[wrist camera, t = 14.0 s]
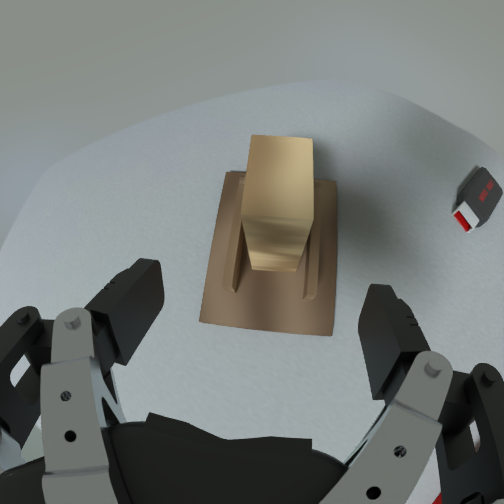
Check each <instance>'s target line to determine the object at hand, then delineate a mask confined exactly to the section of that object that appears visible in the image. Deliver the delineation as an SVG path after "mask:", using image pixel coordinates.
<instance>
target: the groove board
mask: <svg viewBox="0 0 504 504" xmlns="http://www.w3.org/2000/svg"><path fill="white" fill-rule="evenodd" d="M245 178H246V173H240V172H226V175H225V180H224V185H223V189H222V194H221V199H220V204H219V209H218V214H217V219H216V225H215V230H214V235H213V241H212V246H211V252H210V257H209V263H208V269H207V275H206V280H205V286H204V293H203V299H202V305H201V311H200V318H199V322H202V323H209V324H215V325H222V326H230V327H237V328H245V329H253V330H262V331H272V332H282V333H293V334H305V335H318V336H332V334H333V322H334V308H335V291H336V267H337V188H336V181H329V180H321V179H313V183H314V220H313V223H312V226H311V229H310V232H309V235H308V238H307V241H306V244H305V247H304V250H303V253H302V256H301V259H300V262H299V265H298V268H297V270H296V273H293V272H279V271H267V270H254V269H252V266H251V261H250V257H249V252H248V247H247V243H246V238H245V233H244V228H243V224H242V219H241V207H242V200H243V192H244V185H245Z"/></svg>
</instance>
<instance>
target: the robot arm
mask: <svg viewBox="0 0 504 504" xmlns="http://www.w3.org/2000/svg"><path fill="white" fill-rule="evenodd" d="M163 304H164V287H163V280H162V272H161V265H160V262H159V261H158V260H152V259H144V258H140V259H138V260H137V261H136V262H135V263H134V264H133V265H132V266H131V267H130V268H129V269H126V270H124V271H122V272H120V273H118V274H117V275H116V276H115V277H114V278H113V279H112V280H111V281H110V283H108V284H107V285H106V286H105V287H104V289H102V290H101V291H100V292H99V293H98V294H97V295H96V296H95V297H94V298H93V299H92V300H91V301H90V302H89V303H88V304H87V305H86V306H85V307H84V308H71V309H68V310H65V311H63V312H62V313H60V314H59V315H58V316H57V317H56V319H55V320H45V319H41V316H40V314H39V311H38V309H37V308H35V307H32V306H26V307H23V308H20V309H18V310H17V311H15V312H14V313H13V314H12V315H11V316H10V317H9V318H8V319H7V320H6V321H5V322H4V323H3V325H2V326H1V327H0V504H405V503H406V501H407V500H408V498H409V496H410V495H411V493H412V491H413V489H414V488H415V486H416V484H417V482H418V480H419V478H420V476H421V475H422V473H423V471H424V469H425V467H426V464H427V462H428V460H429V458H430V456H431V454H432V452H433V449H434V447H435V448H436V455H437V461H438V469H439V477H440V486H441V498H442V504H504V381H503V379H502V377H501V375H500V373H499V372H498V371H497V369H495V368H494V367H493V366H491V365H489V364H487V363H479V364H477V365H476V366H475V367H474V368H473V370H472V371H471V373H470V374H468V373H463V372H458V371H453V369H452V366H451V364H450V362H449V361H448V360H447V359H446V358H445V357H444V356H442V355H441V354H439V353H437V352H433V351H431V350H430V347H429V345H428V343H427V341H426V339H425V337H424V335H423V332H422V330H421V328H420V326H418V322H417V320H416V318H414V317H415V316H414V314H413V312H412V310H411V308H410V307H409V306H408V305H407V304H406V303H405V302H404V301H403V300H402V299H397V297H396V295H395V293H394V291H393V289H392V287H391V286H390V285H382V284H371V285H370V286H369V289H368V292H367V295H366V298H365V302H364V305H363V308H362V311H361V314H360V317H359V322H358V333H359V337H360V341H361V345H362V350H363V354H364V359H365V363H366V368H367V372H368V377H369V382H370V387H371V393H372V398H373V400H384V401H385V406H384V408H383V409H382V411H381V412H380V414H379V415H378V417H377V418H376V420H375V421H374V423H373V424H372V426H371V427H370V429H369V430H368V432H367V433H366V434H365V436H364V437H363V439H362V440H361V441H360V443H359V444H358V445H357V447H356V448H355V449H354V451H353V452H352V453H351V454H350V455H349V457H348V458H347V459H346V460H345V461H344V462H343V463H342V462H341V461H339V460H337V459H336V458H334V457H332V456H330V455H328V454H326V453H323V452H320V451H318V450H314V449H312V439H302V438H285V437H273V436H269V437H260V438H249V439H234V440H227V439H222V438H220V437H217V436H215V435H213V434H210V433H208V432H206V431H204V430H202V429H199V428H197V427H195V426H193V425H191V424H189V423H187V422H183V421H179V420H175V419H172V418H168V417H164V416H161V415H157V414H154V413H151V412H149V414H148V417H147V419H146V421H145V422H144V421H140V422H127V421H126V419H125V417H124V414H123V411H122V408H121V404H120V400H119V396H118V392H117V388H116V383H115V379H114V374H113V371H112V368H111V367H112V366H113V364H114V362H115V363H118V364H121V365H124V366H126V365H127V364H128V362H129V360H130V359H131V357H132V355H133V354H134V352H135V350H136V349H137V347H138V346H139V344H140V342H141V341H142V339H143V337H144V336H145V334H146V333H147V331H148V330H149V328H150V326H151V325H152V323H153V322H154V320H155V319H156V317H157V315H158V314H159V312H160V311H161V309H162V307H163ZM23 355H25V356H26V358H27V360H28V361H29V363H30V366H29V368H28V369H27V370H26V372H25V373H24V375H23V376H22V377H21V379H20V380H19V382H18V383H17V385H16V386H15V388H14V386H13V385H12V383H11V381H10V374H11V371H12V369H13V368H14V367H15V365H16V364H17V363H18V361H19V360H20V359H21V357H22V356H23ZM40 414H41V428H42V440H43V449H44V456H43V457H41V458H38V459H35V460H33V461H30V462H27V463H26V462H25V460H24V458H23V457H22V456H21V450H22V448H23V446H24V444H25V442H26V440H27V438H28V436H29V434H30V432H31V430H32V429H33V427H34V425H35V423H36V421H37V420H38V418H39V416H40ZM474 420H475V421H476V425H477V428H478V432H479V436H480V440H481V443H480V448H479V450H478V452H477V453H476V451H475V447H474V443H473V439H472V435H471V431H470V427H469V425H470V424H471V423H472V422H473V421H474Z"/></svg>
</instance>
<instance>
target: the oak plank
mask: <svg viewBox="0 0 504 504" xmlns="http://www.w3.org/2000/svg"><path fill="white" fill-rule="evenodd" d="M241 219H242V224H243V228H244V233H245V238H246V243H247V247H248V252H249V257H250V261H251V266H252V269H254V270H267V271H279V272H293V273H296V270H297V268H298V265H299V262H300V259H301V256H302V253H303V250H304V247H305V244H306V241H307V238H308V235H309V232H310V229H311V226H312V223H313V220H314V183H313V142H312V139H308V138H297V137H283V136H265V135H252V136H251V143H250V150H249V157H248V164H247V171H246V178H245V185H244V192H243V200H242V207H241Z"/></svg>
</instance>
